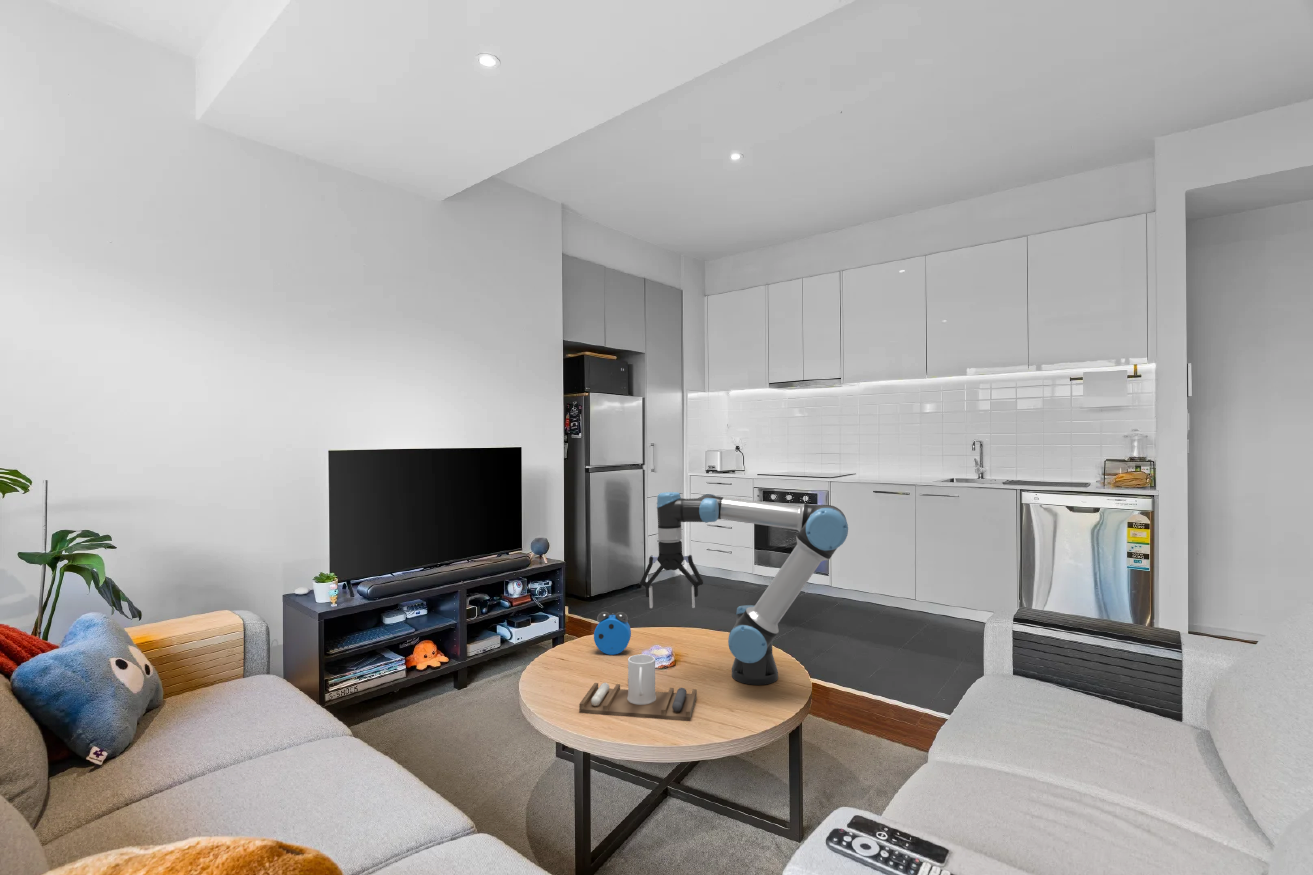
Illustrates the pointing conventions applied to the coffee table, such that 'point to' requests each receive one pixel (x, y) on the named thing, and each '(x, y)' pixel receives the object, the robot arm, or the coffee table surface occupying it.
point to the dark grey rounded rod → (679, 699)
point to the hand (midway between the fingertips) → (672, 607)
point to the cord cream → (600, 694)
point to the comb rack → (620, 705)
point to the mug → (641, 679)
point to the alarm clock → (612, 633)
